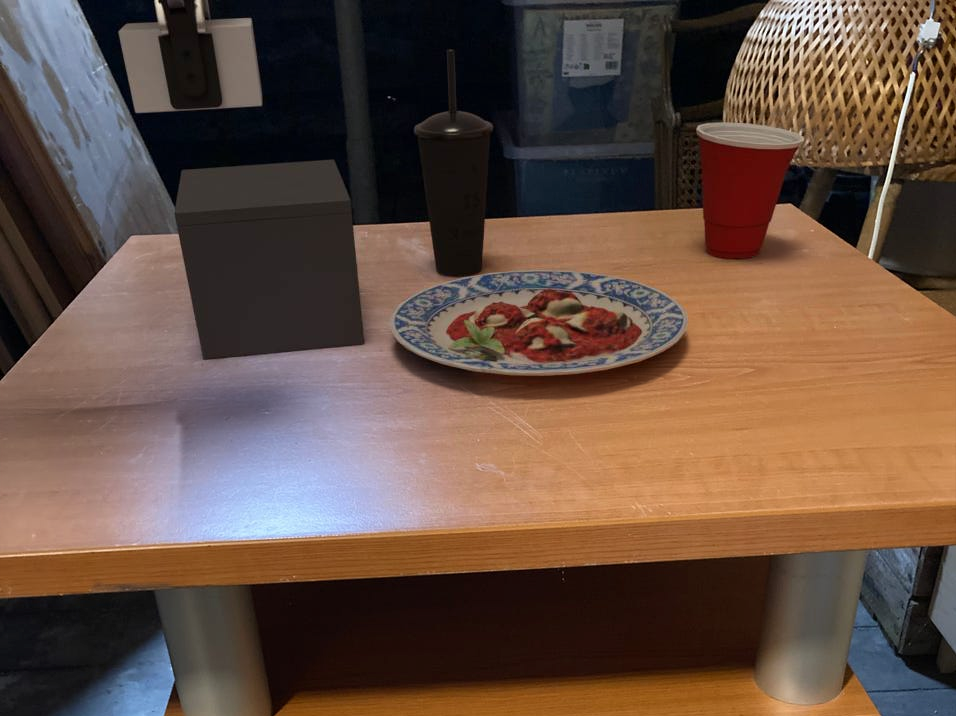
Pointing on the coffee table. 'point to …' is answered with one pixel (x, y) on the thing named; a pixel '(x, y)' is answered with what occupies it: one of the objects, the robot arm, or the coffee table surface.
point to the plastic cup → (742, 183)
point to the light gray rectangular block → (231, 58)
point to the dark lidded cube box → (269, 258)
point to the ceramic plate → (539, 322)
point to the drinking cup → (455, 183)
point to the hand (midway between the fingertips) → (199, 97)
